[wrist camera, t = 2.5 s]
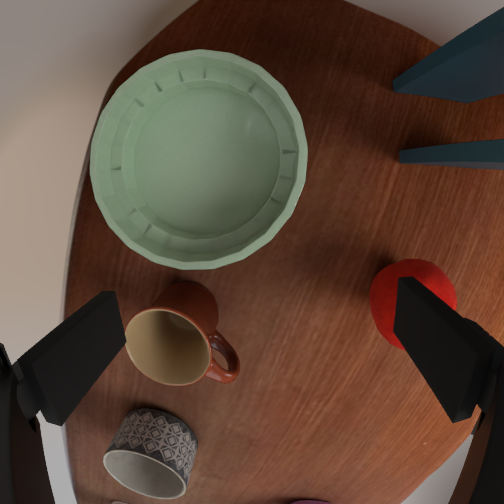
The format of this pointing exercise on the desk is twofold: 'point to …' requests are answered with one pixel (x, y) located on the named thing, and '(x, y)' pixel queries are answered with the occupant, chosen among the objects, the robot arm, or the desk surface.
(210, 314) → the mug
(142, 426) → the planter
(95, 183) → the bowl
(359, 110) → the desk surface
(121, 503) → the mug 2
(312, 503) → the teapot
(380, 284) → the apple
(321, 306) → the desk surface
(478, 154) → the teal arch block
